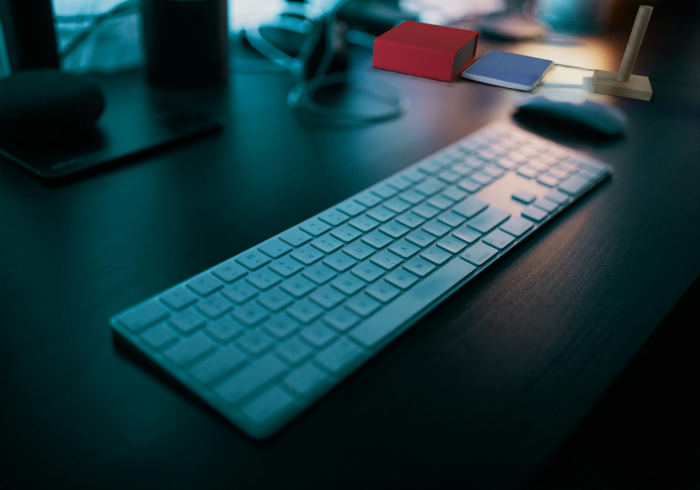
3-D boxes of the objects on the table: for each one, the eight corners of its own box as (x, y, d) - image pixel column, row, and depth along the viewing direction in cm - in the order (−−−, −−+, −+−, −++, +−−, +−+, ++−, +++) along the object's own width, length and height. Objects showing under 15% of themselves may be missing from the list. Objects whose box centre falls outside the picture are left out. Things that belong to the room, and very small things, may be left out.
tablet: (490, 54, 114) (491, 47, 114) (554, 66, 110) (556, 59, 109) (458, 80, 100) (460, 72, 99) (532, 95, 96) (533, 87, 95)
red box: (405, 45, 116) (408, 19, 113) (474, 57, 112) (479, 30, 109) (371, 68, 102) (374, 39, 99) (449, 83, 98) (454, 53, 95)
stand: (645, 85, 104) (673, 5, 96) (649, 101, 97) (680, 16, 89) (592, 77, 106) (616, -2, 98) (593, 92, 99) (618, 8, 91)
